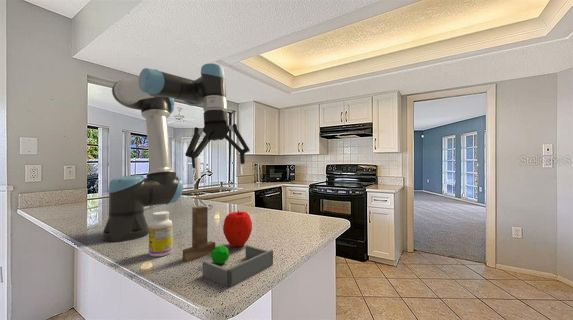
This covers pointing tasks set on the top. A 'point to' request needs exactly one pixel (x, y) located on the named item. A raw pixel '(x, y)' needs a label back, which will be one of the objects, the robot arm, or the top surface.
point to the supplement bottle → (160, 235)
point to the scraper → (199, 235)
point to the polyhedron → (220, 254)
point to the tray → (239, 267)
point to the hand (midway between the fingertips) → (219, 176)
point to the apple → (237, 228)
